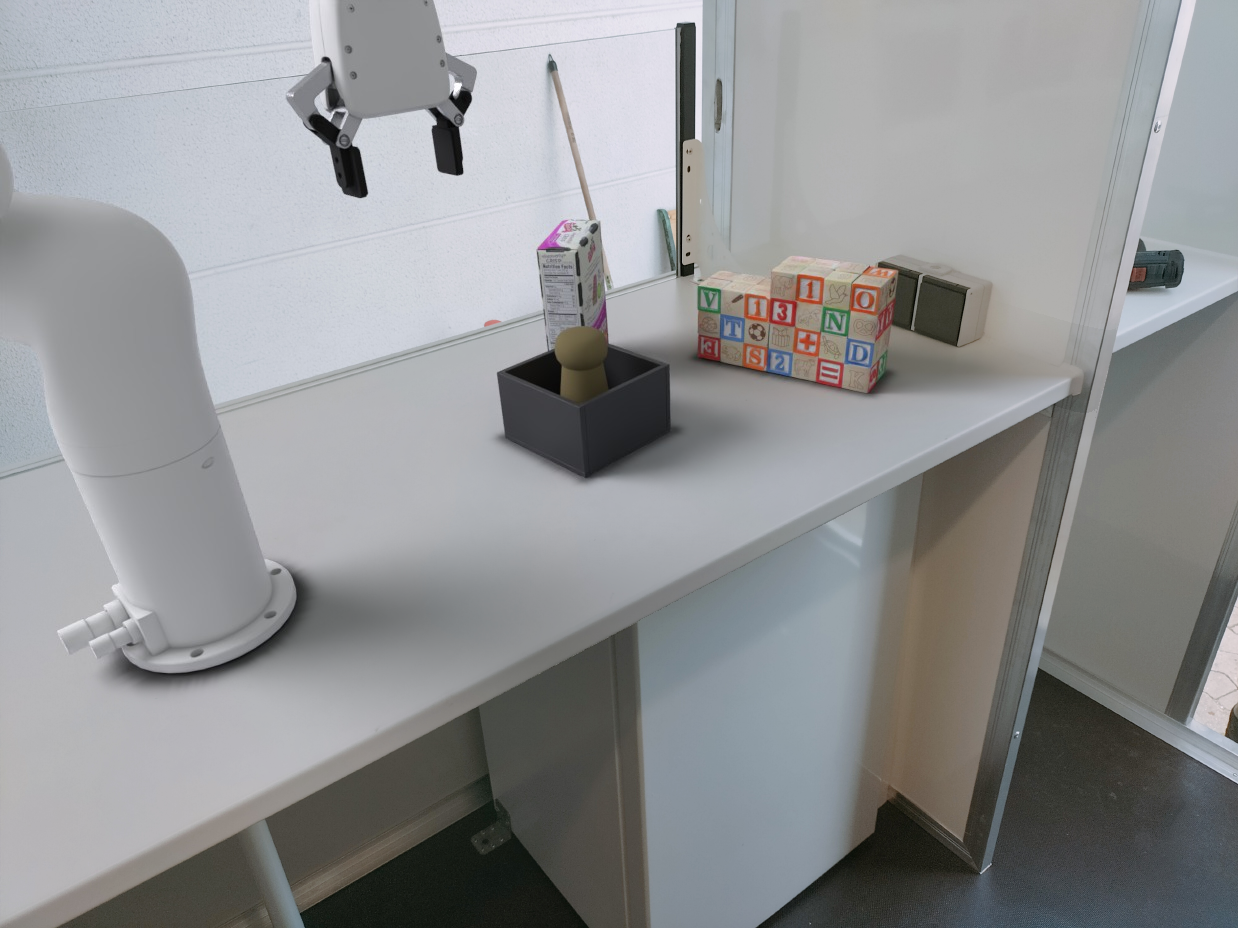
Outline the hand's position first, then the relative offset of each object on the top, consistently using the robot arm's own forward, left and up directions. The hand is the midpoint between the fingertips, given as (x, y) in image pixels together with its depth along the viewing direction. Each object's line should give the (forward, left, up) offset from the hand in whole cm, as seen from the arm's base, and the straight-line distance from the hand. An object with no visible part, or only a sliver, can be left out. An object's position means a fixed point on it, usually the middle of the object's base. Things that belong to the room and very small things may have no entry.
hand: (405, 184), depth 74 cm
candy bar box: (+22, +4, -26) cm, 35 cm away
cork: (+11, -9, -26) cm, 30 cm away
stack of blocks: (+38, -15, -26) cm, 49 cm away
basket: (+11, -9, -26) cm, 30 cm away
